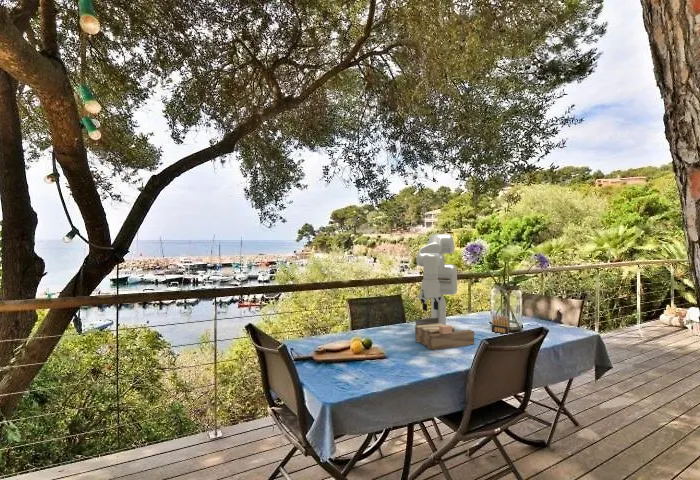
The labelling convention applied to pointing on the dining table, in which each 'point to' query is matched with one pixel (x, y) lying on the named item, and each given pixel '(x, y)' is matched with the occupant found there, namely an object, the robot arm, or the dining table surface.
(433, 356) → the dining table surface
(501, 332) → the ammunition clip
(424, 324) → the toolbox lid
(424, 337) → the toolbox
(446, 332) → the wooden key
